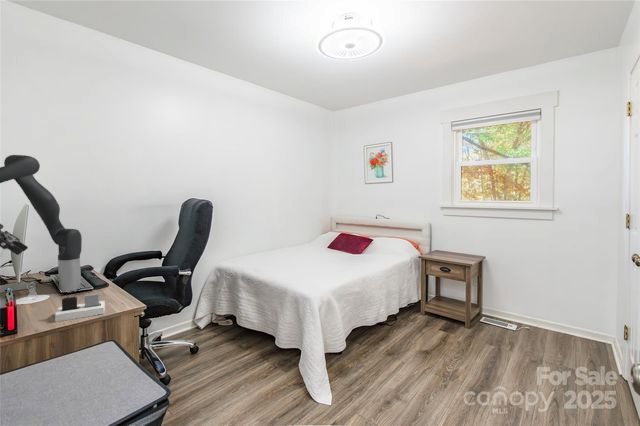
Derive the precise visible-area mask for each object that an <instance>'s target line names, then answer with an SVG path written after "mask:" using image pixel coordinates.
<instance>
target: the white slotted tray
mask: <svg viewBox="0 0 640 426" xmlns="http://www.w3.org/2000/svg"><path fill="white" fill-rule="evenodd" d="M105 309H106V300H100V293H99V292H98V293H90V294H85V295H84V303H77V309H75V310H68V311H62V306H59V307H58V309H57V311H56V312H55V313H54V316H55V317H54V318H55V319H54V320H55V321H54V322H56V323H58V322H64V321H71V320H76V318H77V319H83V318H89V317H94V316H93V315H96V316H99V315H98V314H102V315H104V314H105ZM103 313H104V314H103ZM88 316H89V317H88ZM82 317H83V318H82Z"/></svg>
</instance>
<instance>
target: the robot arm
mask: <svg viewBox="0 0 640 426" xmlns="http://www.w3.org/2000/svg"><path fill="white" fill-rule="evenodd" d="M3 164H4V166H0V184H2V183H5V182H8V181H11V180H14V181H15V183H17V185H18V186H19V187H20V189H21V190H22V192H23V193H24V195H25V196H26V198H27V200H29V202H30V204H31V206H32V207H33V209H34V211H35V212H36V213H37V215H38V216H39V217H40V219H41V221H42V222H43V224H44V226H45V227H46V229H47V231H48V234H49V235H50V237H51V239H52V241H53V243H55V245H57V246H58V247H59V246H65V251H64V252H63V253H60V254H59V253H58V255H57V265H58V269H57V270H58V286H59V290H61V291H73V290H77V289H80V288H81V289H82V278H81V277H82V276H81V275H82V274H81V253H82V243H83V242H82V240H83V239H82V234H81V232H80V231H79V229H75V228H67V227H65V226H64V225H63V224H62V222H61V220H60V212H61V207H60V204H59V203H58V201H57V199H56V198H55V196H54V195H53V194H52V192H50V191H49V190H48V189H47V188H46V187H45V186H43V185H42V184H41V183H40V182H39V181H38V179H36V178H35V176H34V175H35V174H37V173H38V172H39V170H40V168H41V167H40V166H41V165H40V162H39V160H37V158H35V157H33V156H30V155H23V154H11V155H7V157H5V159H4V160H3ZM3 228H4V225H3V224H2V223H0V248H1V249H3V250H8V251H11V252H12V253H13V254H15V255H17V256H18V255H20V254H22V253H23V252H25V251H26V250H27V249H29V246H28V245H25V244H24V243H23V242H21V239H20V238H19V237H17V236H15V235H14V234H12V233H11V232H9V231H8V230H4V231H3V230H2V229H3ZM81 289H80V290H81ZM59 290H58V291H59Z"/></svg>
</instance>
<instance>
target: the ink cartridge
mask: <svg viewBox="0 0 640 426" xmlns="http://www.w3.org/2000/svg"><path fill="white" fill-rule="evenodd" d="M77 304H78V297H77V296H70V297H64V298H62V300H61V307H62V311H68V310H75V309H77Z"/></svg>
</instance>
